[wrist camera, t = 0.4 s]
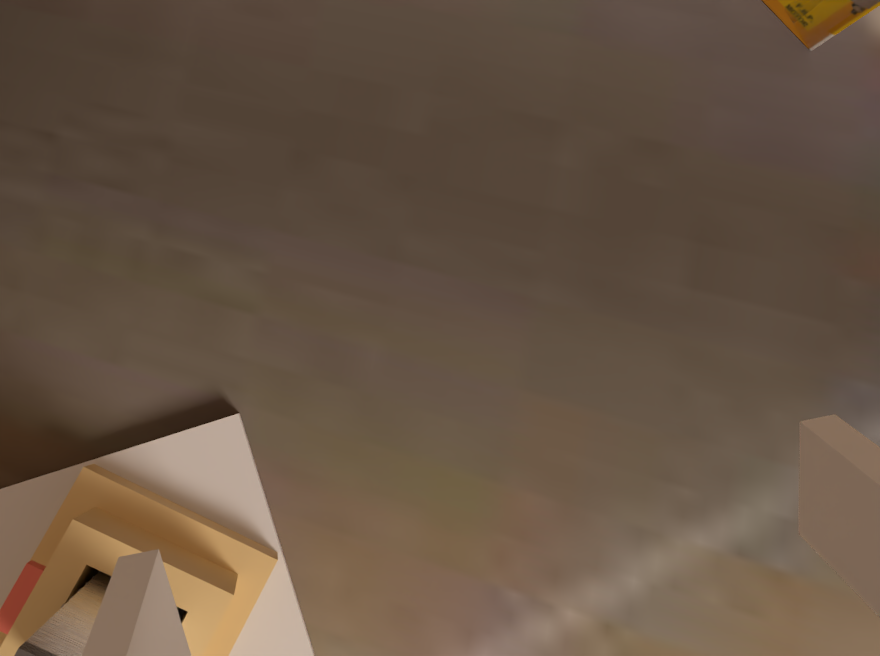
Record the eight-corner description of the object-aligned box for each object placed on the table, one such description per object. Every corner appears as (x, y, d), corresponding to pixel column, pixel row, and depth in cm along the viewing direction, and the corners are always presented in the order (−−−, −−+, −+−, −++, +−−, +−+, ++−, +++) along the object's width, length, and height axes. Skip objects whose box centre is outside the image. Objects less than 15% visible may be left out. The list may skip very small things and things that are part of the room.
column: (149, 661, 44) (70, 823, 27) (73, 626, 43) (-58, 769, 26) (188, 587, 44) (137, 698, 27) (114, 552, 44) (14, 643, 27)
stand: (225, 878, 46) (215, 989, 37) (-176, 709, 43) (-292, 786, 34) (412, 499, 50) (442, 519, 41) (56, 321, 47) (6, 300, 38)
